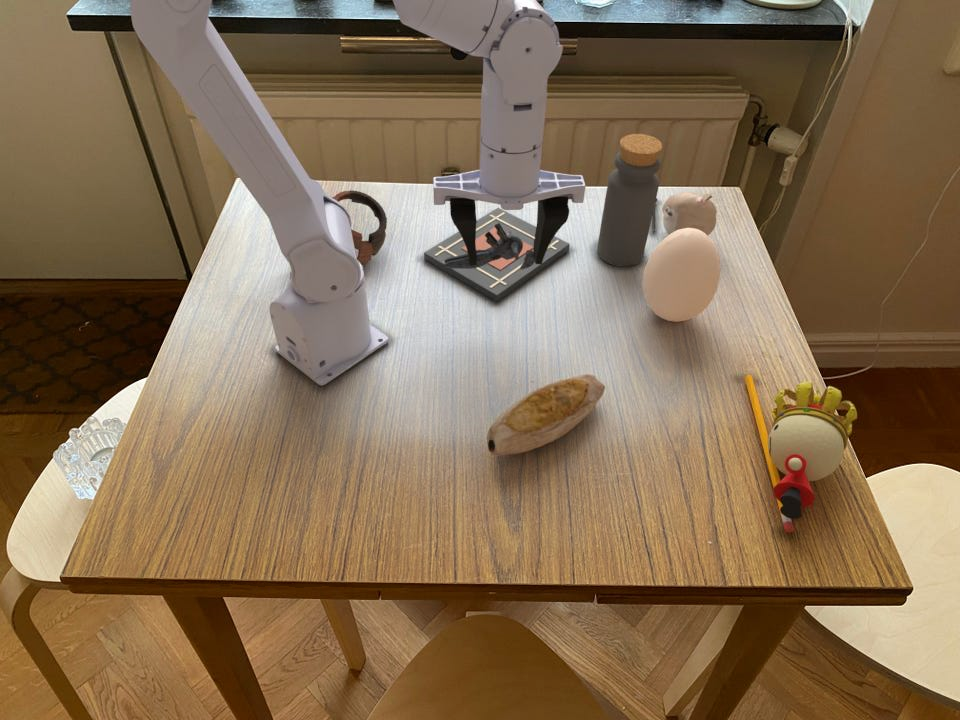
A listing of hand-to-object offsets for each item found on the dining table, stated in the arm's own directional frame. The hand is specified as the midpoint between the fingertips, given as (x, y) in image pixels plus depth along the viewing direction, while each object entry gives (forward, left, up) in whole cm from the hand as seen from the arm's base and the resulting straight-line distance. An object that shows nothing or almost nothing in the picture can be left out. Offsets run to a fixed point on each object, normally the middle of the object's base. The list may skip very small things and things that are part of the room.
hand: (504, 259), depth 74 cm
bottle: (+20, -3, -9) cm, 22 cm away
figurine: (0, +3, +3) cm, 4 cm away
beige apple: (+29, -7, -8) cm, 30 cm away
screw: (+30, -2, -8) cm, 31 cm away
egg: (+14, -14, -9) cm, 21 cm away
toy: (-4, -36, -5) cm, 36 cm away
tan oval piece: (-9, -14, -9) cm, 19 cm away
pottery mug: (-4, +23, -9) cm, 25 cm away
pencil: (+3, -31, -8) cm, 32 cm away
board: (+9, +8, -8) cm, 15 cm away
